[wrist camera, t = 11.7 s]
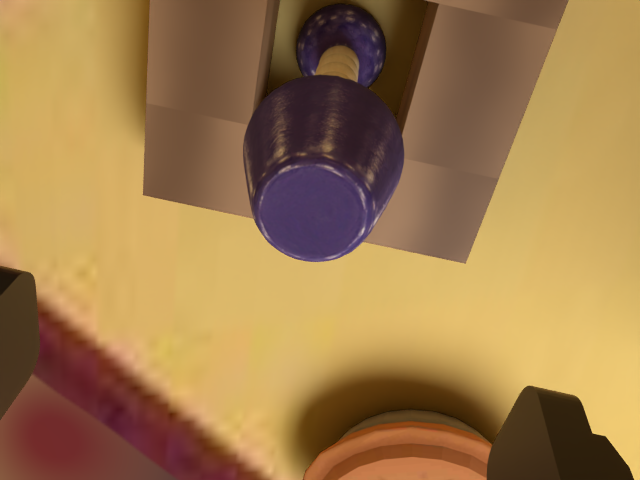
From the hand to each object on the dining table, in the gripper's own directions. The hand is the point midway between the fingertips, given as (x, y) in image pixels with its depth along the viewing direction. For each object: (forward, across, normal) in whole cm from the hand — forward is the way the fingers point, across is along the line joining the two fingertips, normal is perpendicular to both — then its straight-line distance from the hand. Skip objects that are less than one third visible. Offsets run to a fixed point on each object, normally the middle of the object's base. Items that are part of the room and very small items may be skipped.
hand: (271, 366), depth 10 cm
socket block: (+22, 0, 0) cm, 22 cm away
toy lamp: (+22, 0, 0) cm, 22 cm away
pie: (+22, -11, +28) cm, 38 cm away
